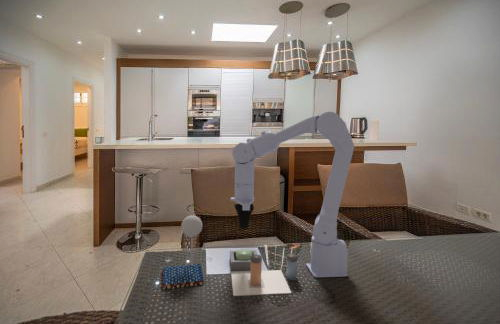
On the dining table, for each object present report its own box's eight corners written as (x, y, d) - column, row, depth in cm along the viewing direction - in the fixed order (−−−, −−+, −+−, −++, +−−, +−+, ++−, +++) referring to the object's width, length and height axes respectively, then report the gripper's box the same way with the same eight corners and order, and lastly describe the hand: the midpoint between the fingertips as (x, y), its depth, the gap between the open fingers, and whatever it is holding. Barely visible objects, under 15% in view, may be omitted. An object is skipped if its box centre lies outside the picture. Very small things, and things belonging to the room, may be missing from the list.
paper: (280, 270, 83) (280, 270, 83) (291, 293, 71) (291, 292, 71) (231, 272, 82) (231, 271, 82) (233, 296, 70) (233, 295, 70)
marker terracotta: (260, 280, 77) (260, 254, 76) (262, 286, 74) (262, 259, 73) (249, 281, 76) (249, 254, 76) (250, 286, 74) (251, 259, 73)
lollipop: (197, 273, 81) (197, 219, 79) (177, 270, 82) (177, 218, 80) (205, 263, 87) (205, 213, 85) (186, 261, 88) (186, 212, 87)
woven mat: (161, 272, 82) (161, 265, 82) (200, 268, 85) (200, 262, 84) (160, 292, 72) (160, 284, 72) (204, 287, 75) (204, 279, 74)
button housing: (255, 258, 91) (255, 250, 91) (259, 269, 83) (259, 261, 83) (229, 258, 90) (229, 250, 90) (230, 270, 83) (231, 262, 82)
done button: (251, 258, 90) (251, 249, 89) (253, 265, 85) (253, 255, 84) (235, 259, 89) (235, 249, 89) (236, 266, 84) (236, 256, 84)
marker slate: (295, 274, 81) (296, 253, 80) (298, 279, 78) (298, 257, 77) (284, 275, 81) (285, 253, 80) (287, 280, 78) (288, 258, 77)
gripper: (229, 179, 94) (229, 221, 96) (232, 187, 80) (231, 236, 81) (251, 179, 95) (251, 220, 96) (257, 187, 81) (256, 236, 82)
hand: (243, 228), depth 89 cm, fingers closed
